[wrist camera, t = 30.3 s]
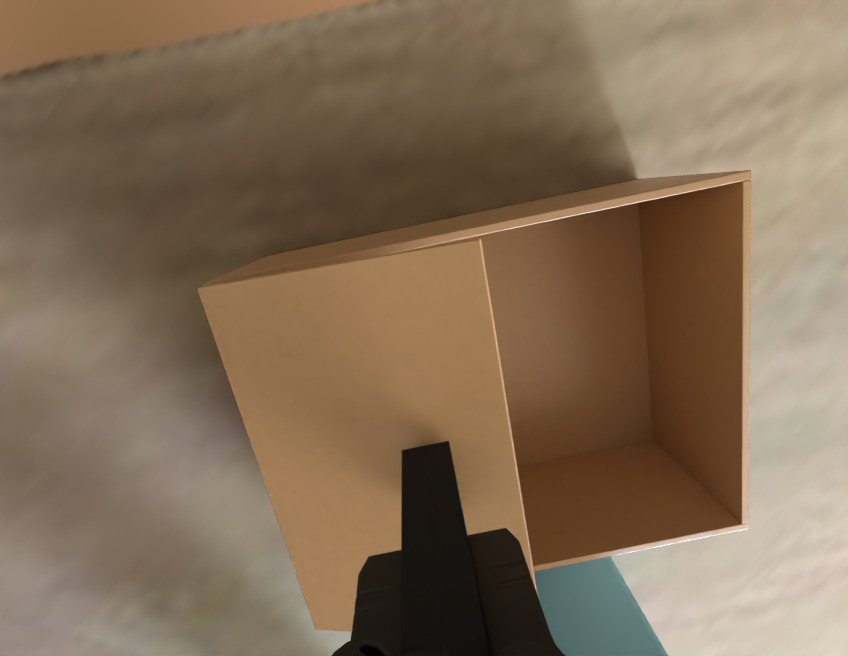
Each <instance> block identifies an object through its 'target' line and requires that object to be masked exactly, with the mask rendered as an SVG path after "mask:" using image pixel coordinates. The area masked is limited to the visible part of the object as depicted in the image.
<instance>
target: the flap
mask: <svg viewBox="0 0 848 656" xmlns="http://www.w3.org/2000/svg"><path fill="white" fill-rule="evenodd" d="M197 290H198V293H199V296H200V298H201V301H202V304H203V307H204V310H205V313H206V316H207V319H208V321H209V324H210V327H211V330H212V333H213V336H214V339H215V342H216V344H217V347H218V350H219V353H220V356H221V359H222V362H223V365H224V367H225V370H226V373H227V376H228V379H229V382H230V385H231V387H232V390H233V393H234V396H235V399H236V402H237V405H238V408H239V410H240V413H241V416H242V419H243V422H244V425H245V428H246V431H247V433H248V436H249V439H250V442H251V445H252V448H253V451H254V454H255V456H256V459H257V462H258V465H259V468H260V471H261V474H262V477H263V479H264V482H265V485H266V488H267V491H268V494H269V497H270V500H271V502H272V505H273V508H274V511H275V514H276V517H277V520H278V523H279V525H280V528H281V531H282V534H283V537H284V540H285V543H286V545H287V548H288V551H289V554H290V557H291V560H292V563H293V566H294V568H295V571H296V574H297V577H298V580H299V583H300V586H301V589H302V591H303V594H304V597H305V600H306V603H307V606H308V609H309V612H310V614H311V617H312V620H313V623H314V626H315V629H321V630H337V631H352V626H353V618H354V614H355V610H354V609H355V601H356V597H357V595H356V592H357V583H358V575H359V573H360V571H361V569H362V567H363V565H364V564H365V562H366V560H367V558H368V556H373V555H378V554H383V553H388V552H393V551H398V550H401V500H402V450H405V449H410V448H415V447H420V446H425V445H430V444H435V443H440V442H445V441H449V444H450V449H451V454H452V458H453V463H454V468H455V473H456V478H457V483H458V488H459V492H460V497H461V502H462V507H463V512H464V517H465V522H466V527H467V532H468V535H472V534H477V533H482V532H487V531H492V530H497V529H502V528H507V529H508V530H509V531H510V532H511V533H512V534H513V535H514V536H515V537H516V538H517V539H518V540H519V542H520V545H521V548H522V551H523V554H524V557H525V560H526V563H527V566H528V569H529V571H530V575H531V577H532V580H533V583H534V586H535V589H536V592H537V586H536V580H535V574H534V568H533V561H532V555H531V549H530V543H529V536H528V530H527V524H526V518H525V511H524V505H523V499H522V493H521V486H520V480H519V474H518V468H517V461H516V455H515V449H514V443H513V436H512V430H511V424H510V418H509V411H508V405H507V399H506V393H505V386H504V380H503V374H502V368H501V361H500V355H499V349H498V343H497V336H496V330H495V324H494V318H493V311H492V305H491V299H490V293H489V286H488V280H487V274H486V268H485V261H484V255H483V249H482V243H481V239H480V238H478V239H472V240H466V241H460V242H455V243H449V244H443V245H437V246H432V247H426V248H420V249H414V250H409V251H403V252H397V253H391V254H386V255H380V256H374V257H368V258H363V259H357V260H351V261H345V262H340V263H334V264H328V265H322V266H317V267H311V268H305V269H299V270H294V271H288V272H282V273H276V274H271V275H265V276H259V277H253V278H248V279H242V280H236V281H230V282H225V283H219V284H213V285H207V286H202V287H199V288H197ZM537 595H538V593H537Z"/></svg>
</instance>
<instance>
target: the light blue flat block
mask: <svg viewBox="0 0 848 656" xmlns="http://www.w3.org/2000/svg"><path fill="white" fill-rule="evenodd" d="M534 574H535V580H536V586H537V593H538V598H539V601H540V604H541V607H542V610H543V613H544V616H545V619H546V622H547V625H548V628H549V631H550V633H551V636H552V638H553V640H554V642H555V644H556V645H557V647H558V648H559V649H560V650H561V652H562V653H563V654H564V655H566V656H668V655H667V653H666V651H665V650H664V648H663V646H662V644H661V643H660V641H659V639H658V638H657V636H656V634H655V633H654V631H653V629H652V627H651V626H650V624H649V622H648V621H647V619H646V617H645V615H644V614H643V612H642V610H641V609H640V607H639V605H638V603H637V602H636V600H635V598H634V597H633V595H632V593H631V591H630V590H629V588H628V586H627V585H626V583H625V581H624V579H623V578H622V576H621V574H620V573H619V571H618V569H617V567H616V566H615V564H614V562H613V561H612V559H611V557H610V556H609V557H604V558H599V559H594V560H589V561H584V562H579V563H574V564H569V565H564V566H559V567H554V568H549V569H544V570H539V571H534Z"/></svg>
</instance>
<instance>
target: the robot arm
mask: <svg viewBox="0 0 848 656" xmlns="http://www.w3.org/2000/svg"><path fill="white" fill-rule="evenodd" d="M356 595H357V597H356V601H355V609H354V610H355V614H354V618H353V626H352V635H351V641H349V642H347V643H346V644H344V645H343V646H342V647H340V648H339V649H338V650H337V651H335V652H334V653H333V655H332V656H566V655H564V654H563V653H562V652H561V650H560V649H559V648H558V647H557V645H556V644H555V642H554V640H553V638H552V636H551V633H550V631H549V628H548V625H547V622H546V619H545V616H544V613H543V610H542V607H541V604H540V601H539V598H538V595H537V592H536V589H535V586H534V583H533V580H532V577H531V575H530V571H529V569H528V566H527V563H526V560H525V557H524V554H523V551H522V548H521V545H520V542H519V540H518V539H517V538H516V537H515V536H514V535H513V534H512V533H511V532H510V531H509V530H508V529H507V528H502V529H497V530H492V531H487V532H482V533H477V534H472V535H468V532H467V527H466V522H465V517H464V512H463V507H462V502H461V497H460V492H459V488H458V483H457V478H456V473H455V468H454V463H453V458H452V454H451V449H450V444H449V441H445V442H440V443H435V444H430V445H425V446H420V447H415V448H410V449H405V450H402V500H401V550H398V551H393V552H388V553H383V554H378V555H373V556H368V558H367V560H366V562H365V564H364V565H363V567H362V569H361V571H360V573H359V575H358V583H357V592H356Z"/></svg>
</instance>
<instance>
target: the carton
mask: <svg viewBox="0 0 848 656" xmlns="http://www.w3.org/2000/svg"><path fill="white" fill-rule="evenodd" d="M750 179H751V170H747V171H734V172H722V173H709V174H696V175H683V176H670V177H658V178H645V179H637V180H632V181H627V182H622V183H617V184H613V185H608V186H603V187H598V188H593V189H588V190H584V191H579V192H574V193H569V194H564V195H559V196H554V197H550V198H545V199H540V200H535V201H530V202H525V203H521V204H516V205H511V206H506V207H501V208H496V209H492V210H487V211H482V212H477V213H472V214H467V215H463V216H458V217H453V218H448V219H443V220H438V221H433V222H429V223H424V224H419V225H414V226H409V227H404V228H400V229H395V230H390V231H385V232H380V233H375V234H371V235H366V236H361V237H356V238H351V239H346V240H342V241H337V242H332V243H327V244H322V245H317V246H312V247H308V248H303V249H298V250H293V251H288V252H283V253H279V254H274V255H269V256H266V257H263V258H261V259H259V260H256V261H254V262H252V263H250V264H247V265H245V266H243V267H240V268H238V269H236V270H233V271H231V272H229V273H227V274H224V275H222V276H220V277H217V278H215V279H213V280H211V281H208V282H206V283H205V285H206V286H207V285H213V284H219V283H225V282H230V281H236V280H242V279H248V278H253V277H259V276H265V275H271V274H276V273H282V272H288V271H294V270H299V269H305V268H311V267H317V266H322V265H328V264H334V263H340V262H345V261H351V260H357V259H363V258H368V257H374V256H380V255H386V254H391V253H397V252H403V251H409V250H414V249H420V248H426V247H432V246H437V245H443V244H449V243H455V242H460V241H466V240H472V239H478V238H480V239H481V243H482V249H483V255H484V261H485V268H486V274H487V280H488V286H489V293H490V299H491V305H492V311H493V318H494V324H495V330H496V336H497V343H498V349H499V355H500V361H501V368H502V374H503V380H504V386H505V393H506V399H507V405H508V411H509V418H510V424H511V430H512V436H513V443H514V449H515V455H516V461H517V468H518V474H519V480H520V486H521V493H522V499H523V505H524V511H525V518H526V524H527V530H528V536H529V543H530V549H531V555H532V561H533V568H534V571H539V570H544V569H549V568H554V567H559V566H564V565H569V564H574V563H579V562H584V561H589V560H594V559H599V558H604V557H609V556H614V555H619V554H624V553H629V552H634V551H639V550H643V549H648V548H653V547H658V546H663V545H668V544H673V543H678V542H683V541H688V540H693V539H698V538H703V537H708V536H713V535H718V534H723V533H728V532H733V531H738V530H743V529H748V495H749V376H750V257H751V180H750Z"/></svg>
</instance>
